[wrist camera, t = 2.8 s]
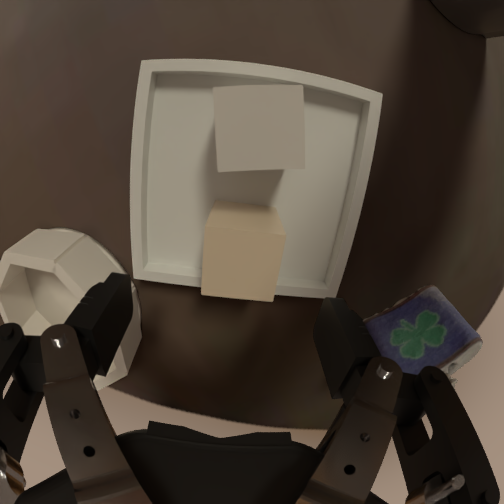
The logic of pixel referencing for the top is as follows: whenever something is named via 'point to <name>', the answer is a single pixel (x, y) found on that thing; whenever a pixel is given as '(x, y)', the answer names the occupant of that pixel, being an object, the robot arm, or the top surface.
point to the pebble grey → (259, 127)
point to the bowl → (61, 287)
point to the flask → (424, 333)
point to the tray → (246, 172)
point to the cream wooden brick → (242, 251)
